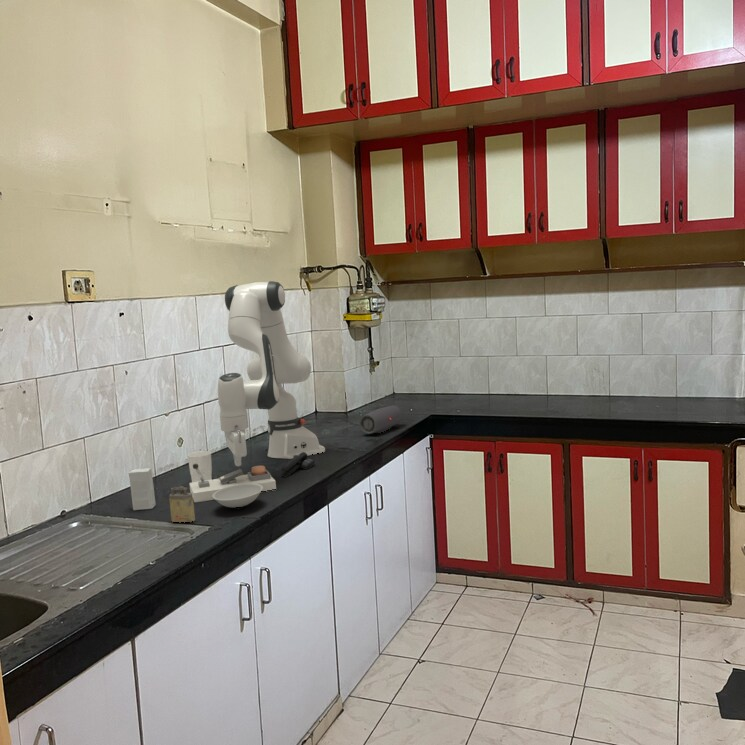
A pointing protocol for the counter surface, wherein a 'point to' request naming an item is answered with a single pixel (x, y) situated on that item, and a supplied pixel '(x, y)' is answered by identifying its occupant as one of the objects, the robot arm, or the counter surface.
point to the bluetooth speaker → (380, 419)
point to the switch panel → (209, 487)
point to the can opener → (297, 463)
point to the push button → (258, 470)
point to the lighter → (181, 505)
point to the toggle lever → (198, 472)
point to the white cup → (200, 465)
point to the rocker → (231, 475)
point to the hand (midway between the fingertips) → (238, 465)
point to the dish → (237, 495)
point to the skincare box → (142, 489)
